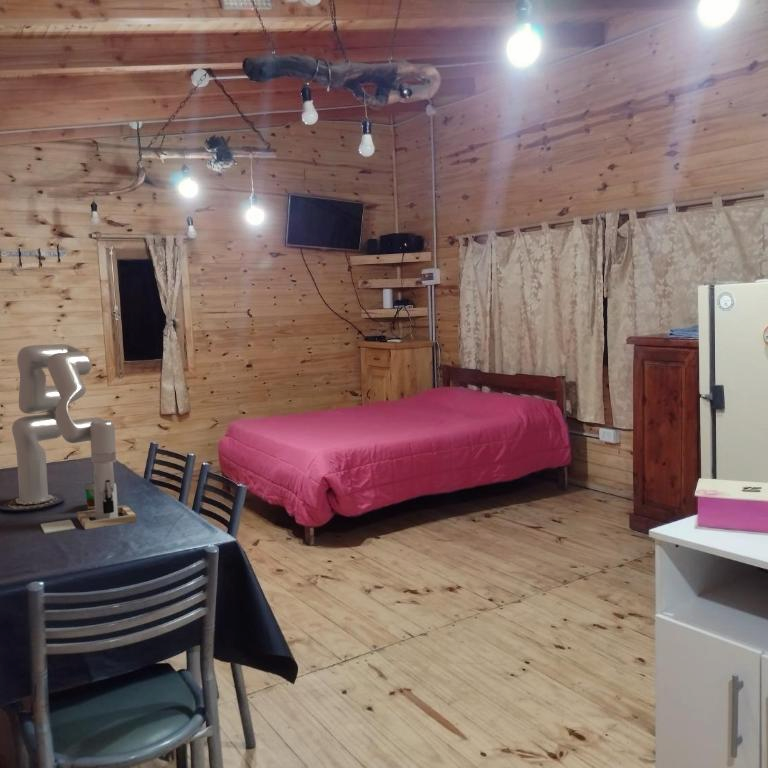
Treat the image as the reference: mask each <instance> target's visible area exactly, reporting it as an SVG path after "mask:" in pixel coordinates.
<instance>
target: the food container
mask: <svg viewBox="0 0 768 768" xmlns="http://www.w3.org/2000/svg"><path fill="white" fill-rule="evenodd" d="M83 490H85V498H86V506H87V511H88V510H95V499H94V481H92V482H89V483H88V482H86V483H84V487H83Z"/></svg>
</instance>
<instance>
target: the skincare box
mask: <svg viewBox="0 0 768 768" xmlns="http://www.w3.org/2000/svg"><path fill="white" fill-rule="evenodd" d="M105 486H106V485H105ZM112 489H113V488H112ZM104 492H107V490H106V491H104ZM117 494H118V493H117V484H116V483H114V491H113V492H112V495H113V503H114V512H113V513H106V514H104V513H103V501H104V499H103V493H101V494H99V493H98V492H97V491H96V485H94V499H95V517H94V519H95V520H100V519H106V518H113V517H119V513H118V507H117V506H118V495H117ZM106 495H107V494H105V497H106Z"/></svg>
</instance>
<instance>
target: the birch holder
mask: <svg viewBox="0 0 768 768" xmlns="http://www.w3.org/2000/svg"><path fill="white" fill-rule="evenodd" d="M117 507H118V514H122V516H118V517H113V518H106V519H100V520H96V519H93V520H90V518H95V510H88V509H87V510H84V511H83V510H82V511H77V512H76V518H77V520H78V522H79V523H80V524H81V526H82V527H83V528H84V530H90V529H97V528H104V526H105V527H110V526H116V525H118V526H119V525H123V524H129V523H137V522H138V516H137V514H136V513H135V512H134V511H133V510H132V509H131V508H130V507H129V506H128V505H126V504H124V505H117ZM136 521H137V522H136Z"/></svg>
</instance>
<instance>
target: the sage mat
mask: <svg viewBox="0 0 768 768" xmlns="http://www.w3.org/2000/svg"><path fill="white" fill-rule="evenodd" d="M40 527H41V529H42V532H43V534H50V533H57V532H64V531H70V530H71V531H72V530H76V526H75V525H74V523H73V521H72V520H71V519H65V520H57V521H52V522H51V521H50V522H44V523H40Z"/></svg>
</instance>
